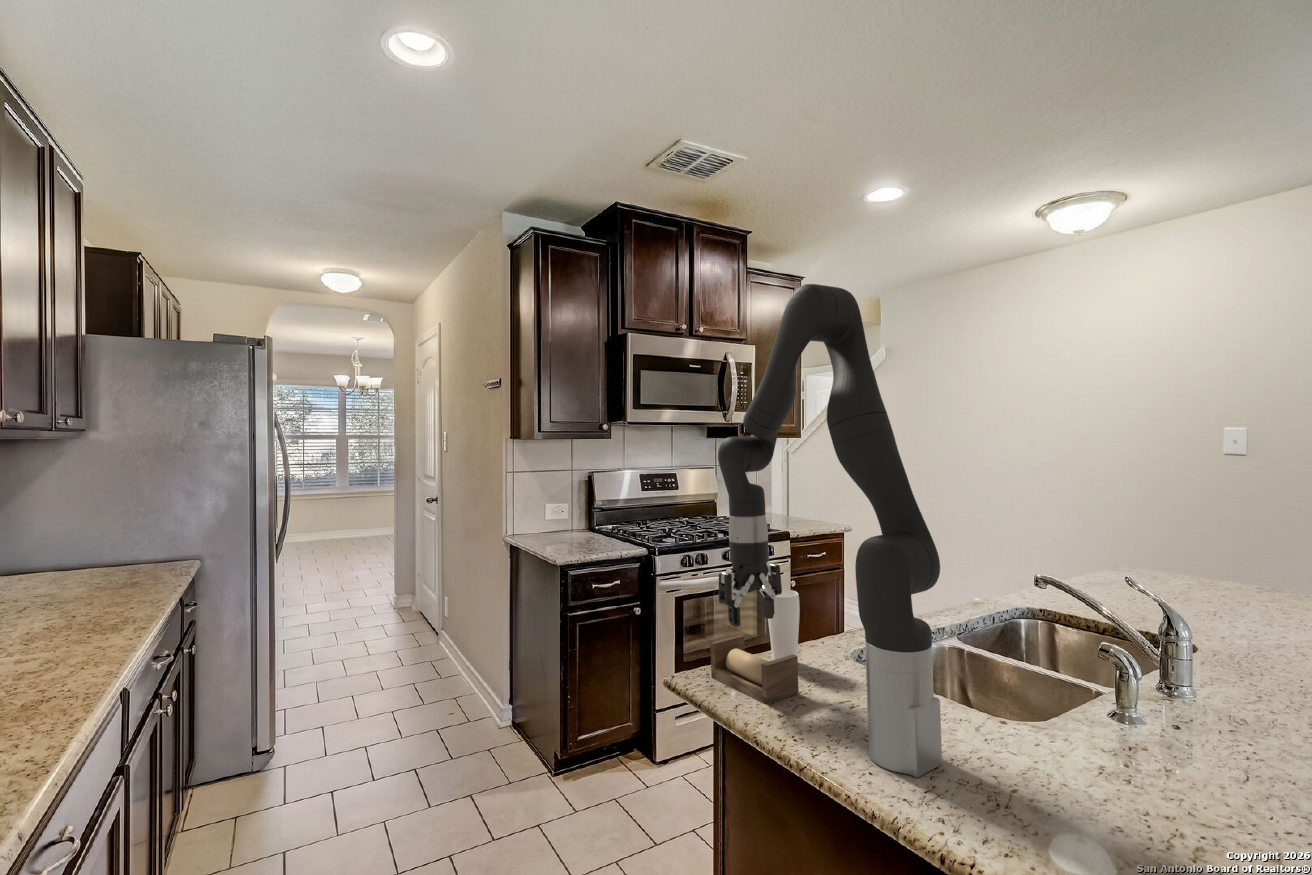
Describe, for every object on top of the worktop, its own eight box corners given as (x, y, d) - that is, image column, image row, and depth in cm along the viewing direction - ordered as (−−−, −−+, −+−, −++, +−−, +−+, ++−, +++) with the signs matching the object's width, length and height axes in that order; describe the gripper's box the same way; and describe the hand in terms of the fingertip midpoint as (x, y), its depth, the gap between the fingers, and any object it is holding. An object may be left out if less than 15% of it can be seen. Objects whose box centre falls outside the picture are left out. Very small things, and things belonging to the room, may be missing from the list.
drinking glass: (798, 657, 133) (796, 588, 133) (803, 669, 126) (801, 596, 127) (767, 657, 134) (765, 589, 134) (770, 669, 127) (767, 597, 127)
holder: (798, 693, 115) (797, 656, 115) (767, 704, 110) (766, 665, 110) (741, 668, 128) (740, 634, 128) (711, 677, 124) (710, 642, 124)
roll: (780, 682, 116) (777, 659, 116) (762, 691, 114) (759, 667, 114) (744, 666, 125) (741, 645, 125) (726, 674, 122) (724, 652, 122)
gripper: (732, 544, 113) (736, 633, 112) (788, 536, 120) (792, 619, 120) (707, 540, 119) (711, 624, 118) (762, 532, 127) (765, 611, 126)
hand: (752, 621), depth 119 cm, fingers open, 8 cm apart
